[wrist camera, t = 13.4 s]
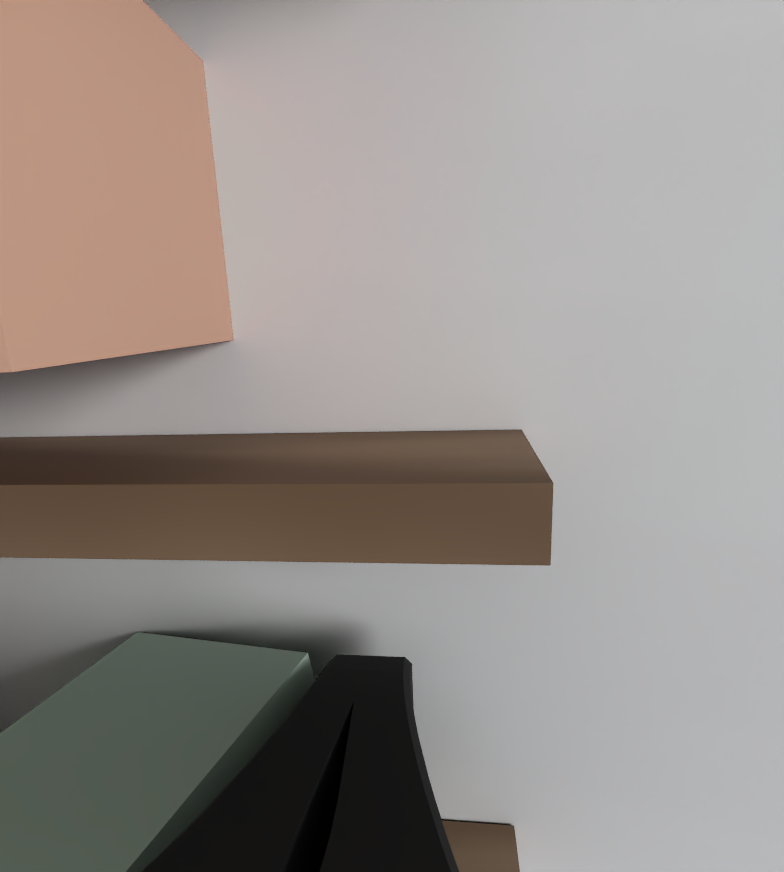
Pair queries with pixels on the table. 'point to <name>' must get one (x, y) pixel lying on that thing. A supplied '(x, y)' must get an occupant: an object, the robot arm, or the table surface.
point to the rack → (287, 513)
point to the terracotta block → (104, 187)
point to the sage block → (137, 750)
